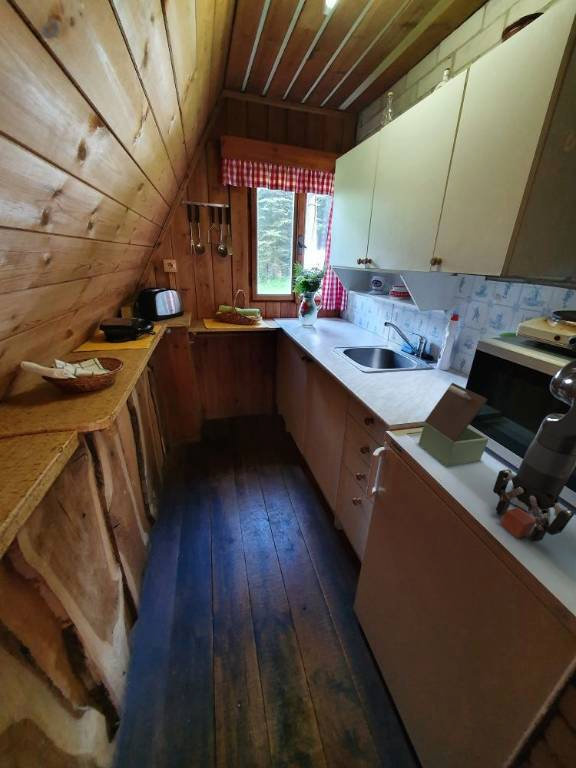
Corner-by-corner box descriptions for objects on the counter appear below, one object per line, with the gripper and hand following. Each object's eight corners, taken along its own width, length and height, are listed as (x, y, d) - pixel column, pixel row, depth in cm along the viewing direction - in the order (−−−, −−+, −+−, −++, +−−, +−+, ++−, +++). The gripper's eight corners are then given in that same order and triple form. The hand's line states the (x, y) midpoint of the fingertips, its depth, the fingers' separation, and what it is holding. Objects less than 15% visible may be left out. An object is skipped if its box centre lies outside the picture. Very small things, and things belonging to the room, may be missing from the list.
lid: (453, 383, 93) (444, 376, 90) (487, 399, 83) (478, 392, 80) (425, 422, 95) (416, 417, 93) (455, 442, 85) (445, 437, 83)
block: (512, 520, 70) (518, 507, 69) (529, 534, 67) (537, 520, 66) (500, 523, 69) (506, 510, 68) (517, 538, 66) (524, 524, 64)
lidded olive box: (449, 440, 103) (457, 419, 100) (480, 460, 93) (488, 438, 90) (418, 444, 98) (424, 423, 95) (446, 466, 88) (454, 443, 85)
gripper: (601, 485, 57) (562, 550, 63) (523, 443, 69) (497, 500, 75) (576, 491, 54) (538, 558, 60) (500, 446, 67) (475, 505, 73)
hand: (515, 526), depth 68 cm, fingers open, 6 cm apart
